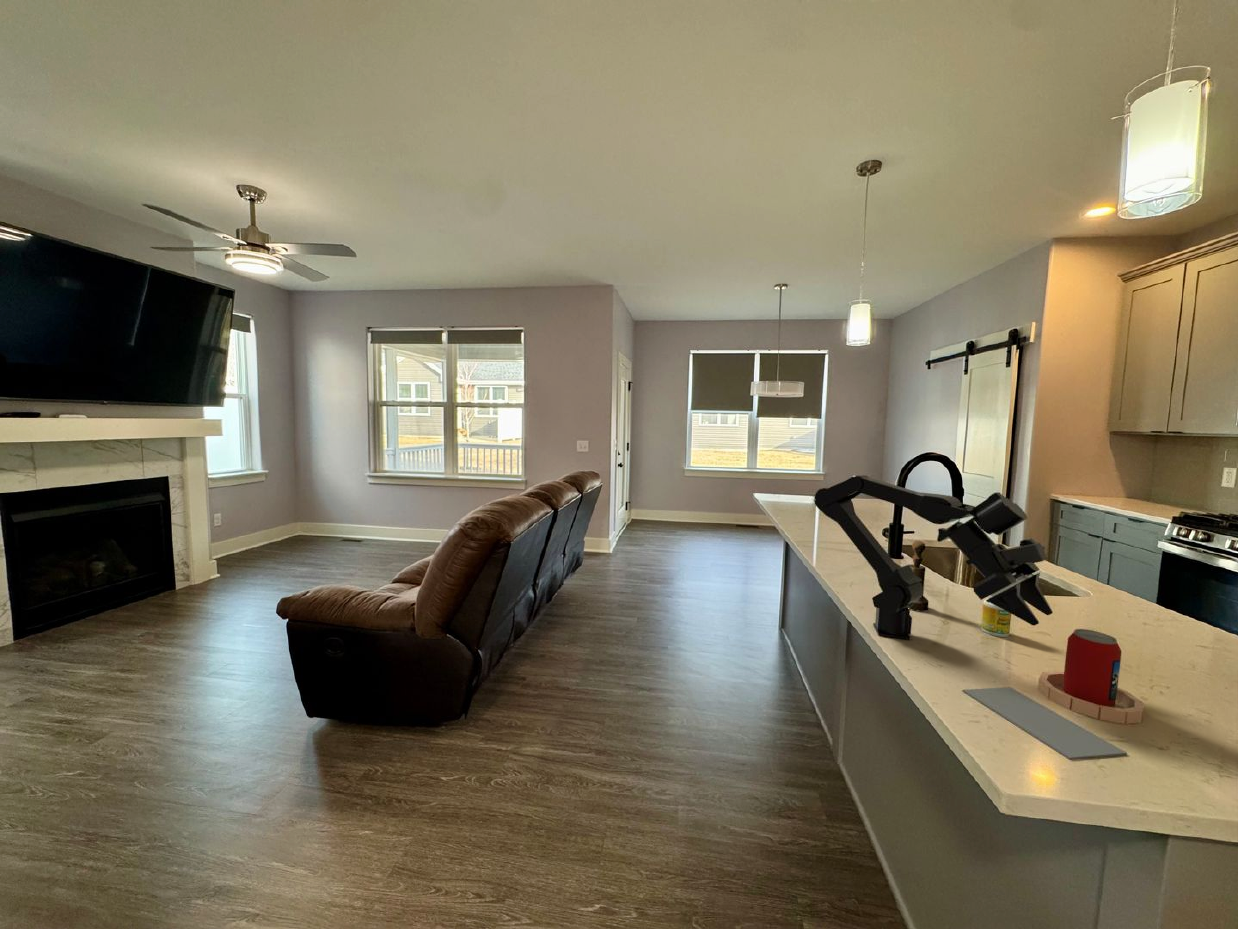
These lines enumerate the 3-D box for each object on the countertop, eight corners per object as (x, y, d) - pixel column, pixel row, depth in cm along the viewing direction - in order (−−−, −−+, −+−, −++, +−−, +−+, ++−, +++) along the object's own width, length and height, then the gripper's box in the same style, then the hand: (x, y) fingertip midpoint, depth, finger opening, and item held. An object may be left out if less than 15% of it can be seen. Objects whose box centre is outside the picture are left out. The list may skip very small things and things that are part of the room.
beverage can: (1126, 714, 81) (1134, 646, 80) (1079, 709, 82) (1086, 641, 82) (1095, 693, 88) (1102, 629, 87) (1052, 688, 89) (1059, 625, 88)
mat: (962, 691, 87) (962, 689, 87) (1010, 688, 88) (1010, 687, 88) (1069, 759, 69) (1069, 757, 69) (1126, 754, 71) (1127, 752, 71)
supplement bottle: (992, 627, 117) (996, 588, 116) (1015, 636, 112) (1019, 596, 111) (974, 628, 116) (978, 589, 115) (996, 638, 111) (1000, 597, 110)
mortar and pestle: (894, 602, 133) (899, 537, 131) (916, 602, 133) (921, 538, 132) (910, 611, 126) (916, 543, 125) (934, 611, 127) (939, 544, 125)
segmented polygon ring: (1063, 713, 81) (1064, 702, 81) (1025, 676, 93) (1026, 666, 93) (1163, 730, 77) (1165, 718, 77) (1109, 689, 89) (1110, 679, 89)
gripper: (999, 530, 87) (1076, 609, 79) (1030, 521, 98) (1100, 589, 90) (946, 562, 94) (1012, 637, 86) (981, 550, 105) (1041, 616, 97)
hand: (1043, 619), depth 90 cm, fingers open, 9 cm apart
